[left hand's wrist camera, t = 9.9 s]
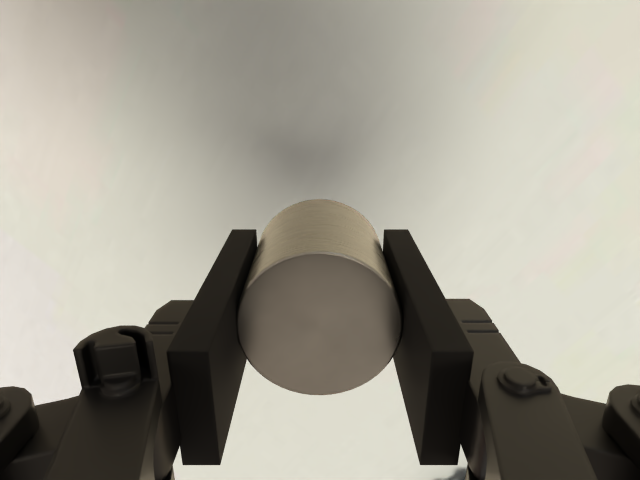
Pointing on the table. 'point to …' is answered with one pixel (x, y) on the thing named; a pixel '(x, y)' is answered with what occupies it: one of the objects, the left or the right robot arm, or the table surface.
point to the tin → (319, 301)
